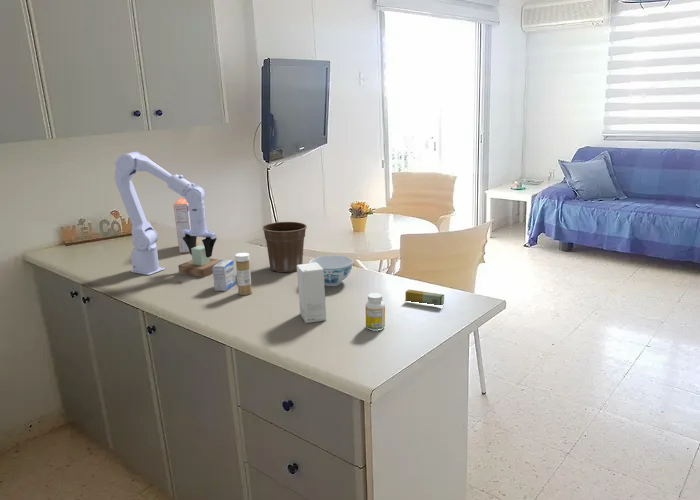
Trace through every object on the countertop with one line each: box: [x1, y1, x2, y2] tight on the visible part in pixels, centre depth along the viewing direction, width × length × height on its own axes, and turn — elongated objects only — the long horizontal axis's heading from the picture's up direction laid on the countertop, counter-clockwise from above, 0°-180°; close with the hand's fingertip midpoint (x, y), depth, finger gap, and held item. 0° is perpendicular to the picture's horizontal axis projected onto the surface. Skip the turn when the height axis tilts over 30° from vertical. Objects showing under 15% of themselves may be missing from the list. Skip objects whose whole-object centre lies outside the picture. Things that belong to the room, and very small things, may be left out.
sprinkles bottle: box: [234, 252, 253, 296], centre depth 185 cm, size 5×5×14 cm
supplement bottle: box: [365, 292, 386, 330], centre depth 157 cm, size 5×5×10 cm
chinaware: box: [308, 254, 354, 287], centre depth 194 cm, size 15×15×8 cm
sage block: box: [191, 245, 211, 265], centre depth 210 cm, size 4×4×6 cm
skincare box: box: [296, 262, 327, 324], centre depth 164 cm, size 8×7×16 cm
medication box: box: [404, 289, 445, 305], centre depth 174 cm, size 12×3×4 cm, turn 62°
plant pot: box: [262, 221, 307, 273], centre depth 211 cm, size 16×16×16 cm
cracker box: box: [173, 197, 198, 254], centre depth 239 cm, size 14×6×21 cm, turn 6°
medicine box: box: [212, 259, 236, 292], centre depth 192 cm, size 8×4×9 cm, turn 168°
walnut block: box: [177, 257, 223, 278], centre depth 211 cm, size 12×12×3 cm
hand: (201, 255), depth 210 cm, fingers open, 7 cm apart
